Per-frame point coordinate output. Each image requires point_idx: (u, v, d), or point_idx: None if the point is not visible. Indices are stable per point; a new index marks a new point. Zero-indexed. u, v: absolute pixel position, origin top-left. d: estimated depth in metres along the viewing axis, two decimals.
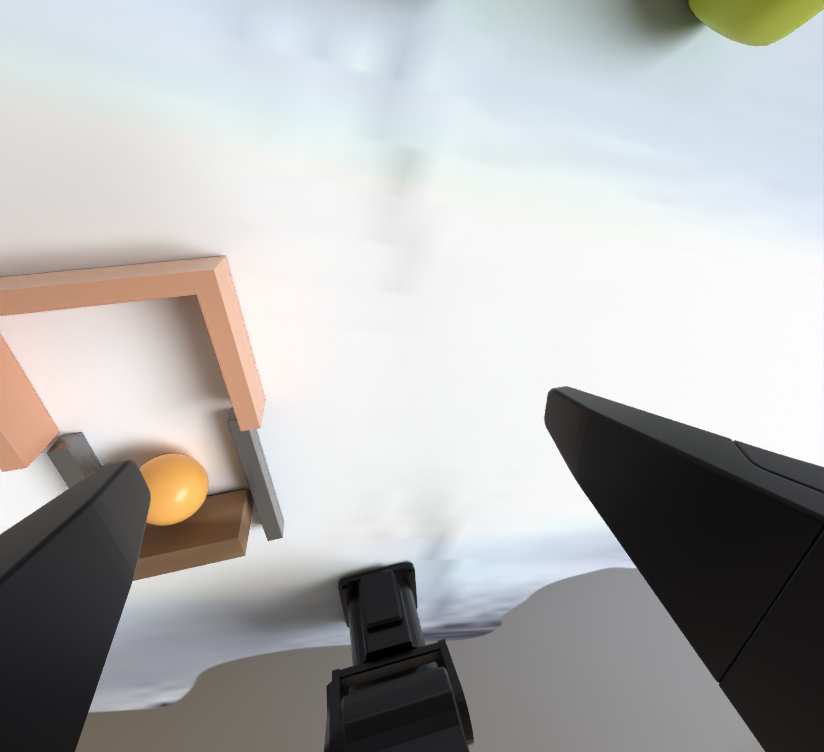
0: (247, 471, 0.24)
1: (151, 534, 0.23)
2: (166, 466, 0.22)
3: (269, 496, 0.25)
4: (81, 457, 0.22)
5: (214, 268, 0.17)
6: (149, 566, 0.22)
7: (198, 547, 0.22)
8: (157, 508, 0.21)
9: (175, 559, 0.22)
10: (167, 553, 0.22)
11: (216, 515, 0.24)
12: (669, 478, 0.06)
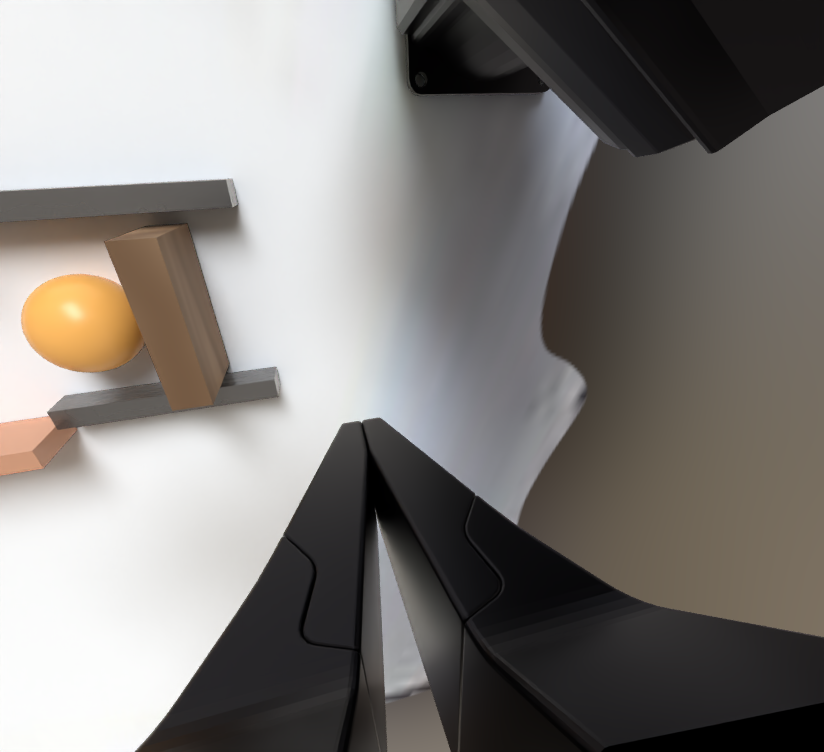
0: (52, 213, 0.15)
1: None
2: None
3: (115, 186, 0.15)
4: (77, 402, 0.18)
5: None
6: (176, 369, 0.16)
7: (132, 303, 0.14)
8: (50, 342, 0.14)
9: (161, 337, 0.15)
10: (146, 345, 0.15)
11: None
12: (404, 538, 0.06)
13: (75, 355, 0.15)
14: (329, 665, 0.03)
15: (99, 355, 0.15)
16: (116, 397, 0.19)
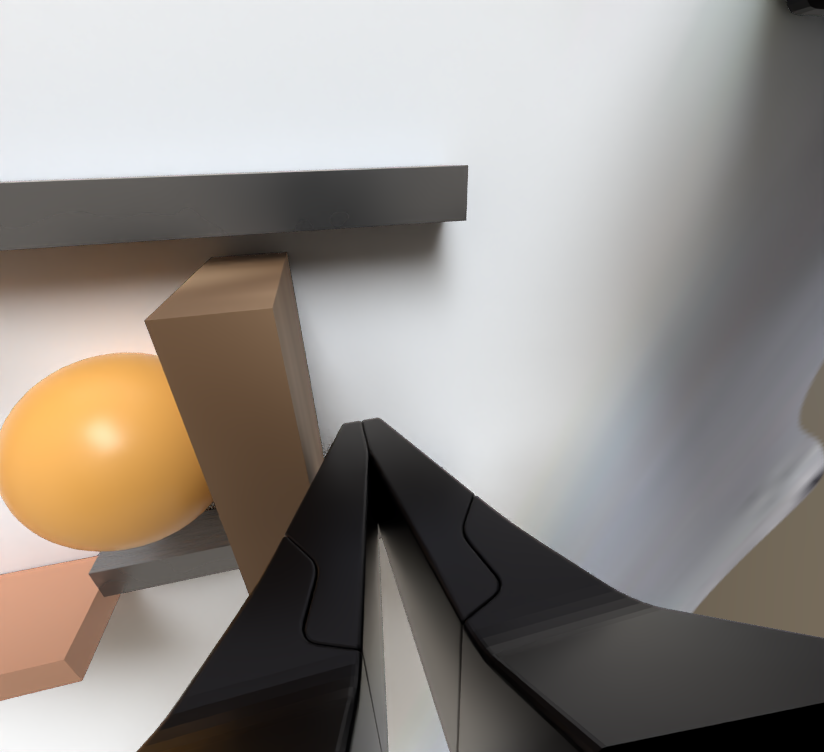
0: (124, 230, 0.07)
1: None
2: None
3: (257, 175, 0.07)
4: (138, 548, 0.11)
5: None
6: None
7: (202, 450, 0.06)
8: (20, 516, 0.07)
9: (255, 506, 0.07)
10: (223, 522, 0.07)
11: None
12: (403, 538, 0.06)
13: (66, 543, 0.07)
14: (331, 663, 0.03)
15: (114, 543, 0.07)
16: (203, 537, 0.11)
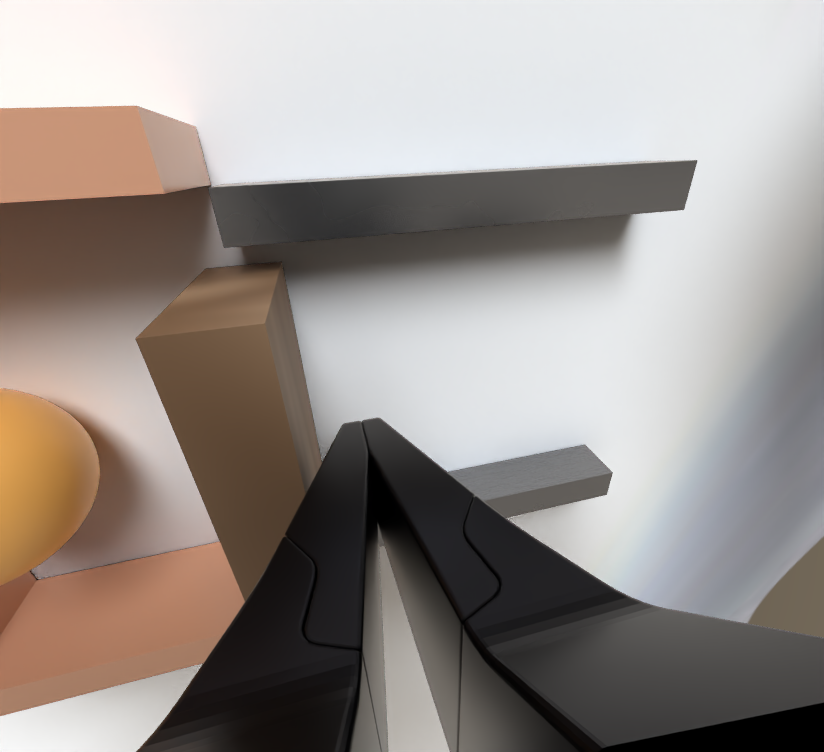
0: (418, 221, 0.08)
1: None
2: None
3: (531, 171, 0.08)
4: None
5: None
6: None
7: (197, 465, 0.06)
8: (81, 467, 0.08)
9: (252, 520, 0.07)
10: (220, 537, 0.07)
11: None
12: (404, 538, 0.06)
13: (98, 475, 0.09)
14: (331, 663, 0.03)
15: None
16: None
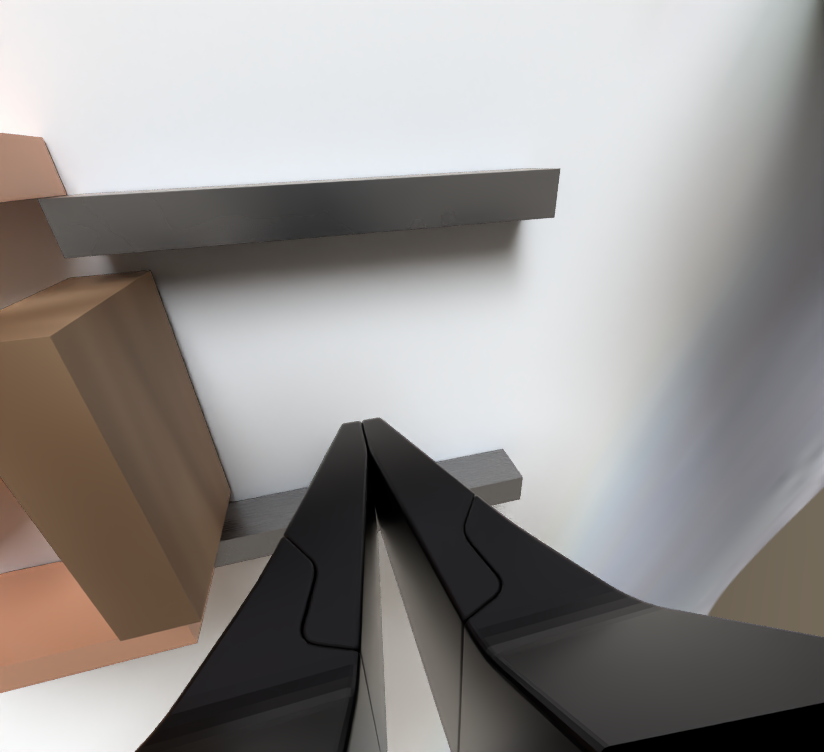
0: (270, 231, 0.08)
1: None
2: None
3: (383, 180, 0.08)
4: (238, 524, 0.12)
5: None
6: (122, 579, 0.08)
7: (9, 476, 0.06)
8: None
9: (84, 530, 0.07)
10: (53, 547, 0.07)
11: None
12: (404, 538, 0.06)
13: None
14: (330, 663, 0.03)
15: None
16: None
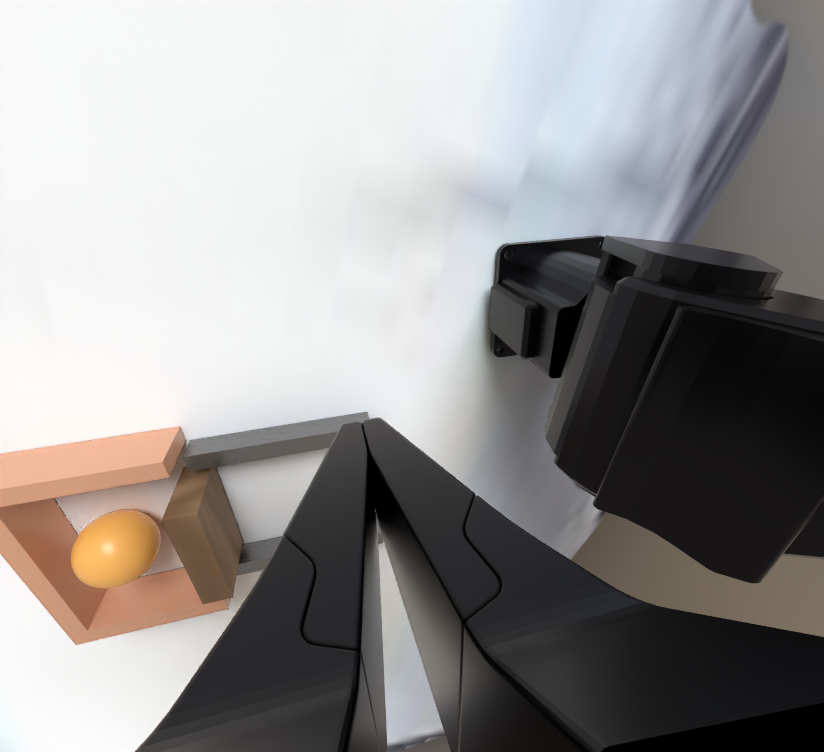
0: (259, 456, 0.22)
1: None
2: (135, 554, 0.21)
3: (300, 437, 0.22)
4: (245, 556, 0.26)
5: None
6: (206, 581, 0.21)
7: (178, 550, 0.20)
8: (157, 527, 0.23)
9: (197, 565, 0.21)
10: (186, 570, 0.21)
11: None
12: (404, 538, 0.06)
13: None
14: (330, 663, 0.03)
15: None
16: (272, 550, 0.26)
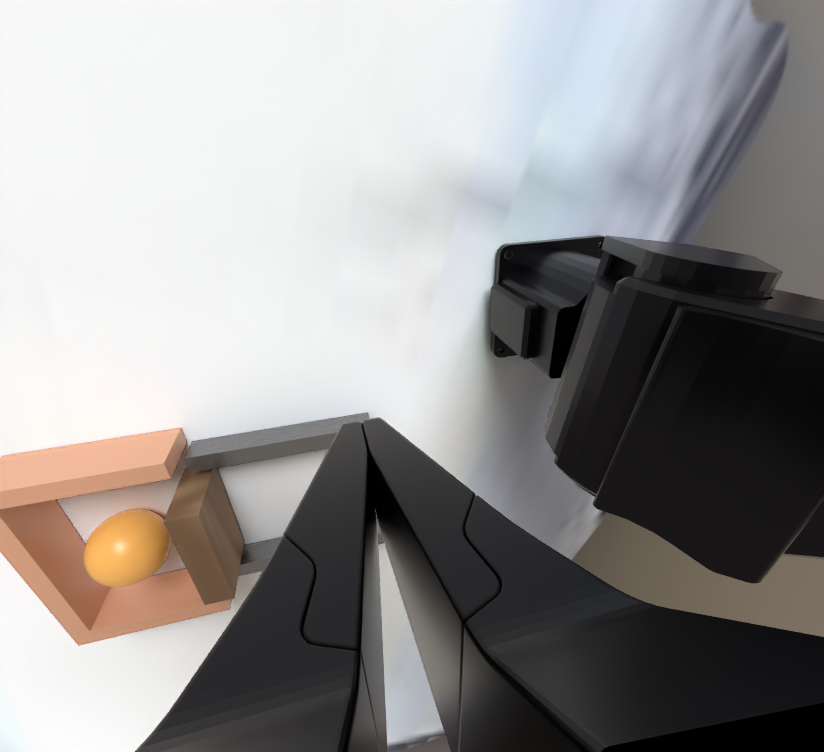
0: (260, 457, 0.22)
1: None
2: (154, 546, 0.21)
3: (301, 438, 0.22)
4: (247, 556, 0.26)
5: None
6: (208, 582, 0.22)
7: (180, 551, 0.20)
8: None
9: (198, 566, 0.21)
10: (188, 571, 0.21)
11: None
12: (404, 538, 0.06)
13: None
14: (329, 663, 0.03)
15: None
16: (273, 551, 0.26)
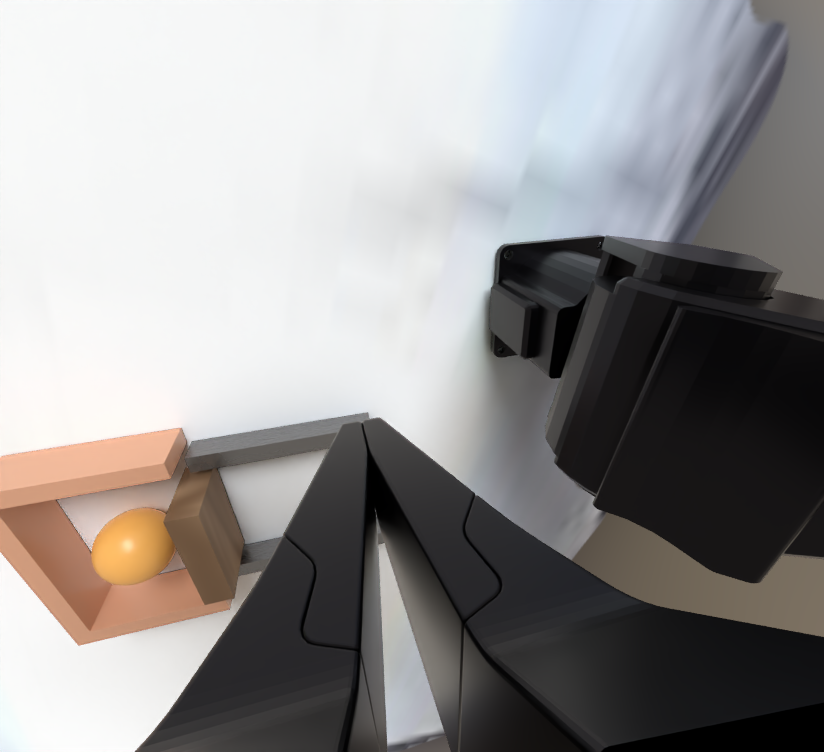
0: (260, 457, 0.22)
1: None
2: (166, 539, 0.22)
3: (301, 438, 0.22)
4: (247, 556, 0.26)
5: None
6: (208, 582, 0.22)
7: (180, 551, 0.20)
8: None
9: (198, 566, 0.21)
10: (188, 571, 0.21)
11: None
12: (404, 538, 0.06)
13: None
14: (329, 663, 0.03)
15: None
16: (273, 551, 0.26)
